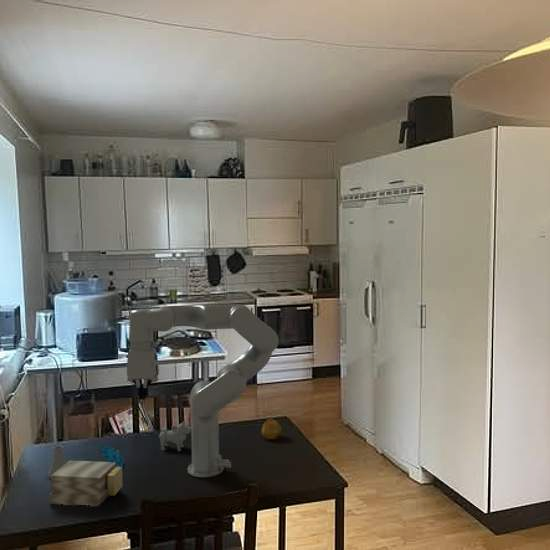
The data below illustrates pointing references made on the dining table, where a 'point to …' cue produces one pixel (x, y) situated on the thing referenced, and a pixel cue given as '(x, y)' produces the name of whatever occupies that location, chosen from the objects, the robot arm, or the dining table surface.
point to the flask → (56, 460)
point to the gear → (112, 456)
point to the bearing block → (80, 483)
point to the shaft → (114, 481)
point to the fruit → (271, 429)
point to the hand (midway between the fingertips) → (143, 398)
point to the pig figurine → (174, 435)
